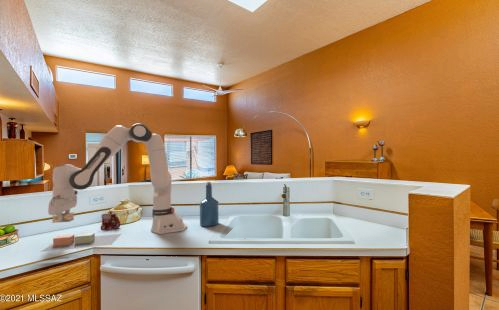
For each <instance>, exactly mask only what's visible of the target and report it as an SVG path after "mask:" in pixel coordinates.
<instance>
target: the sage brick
mask: <svg viewBox="0 0 499 310" xmlns="http://www.w3.org/2000/svg"><path fill="white" fill-rule="evenodd" d="M95 236H96V235H95V232H87V233H77V235H74V238H75V244H80V243H91V242H93V241H94V240H95Z"/></svg>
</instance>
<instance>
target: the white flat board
mask: <svg viewBox="0 0 499 310" xmlns="http://www.w3.org/2000/svg"><path fill="white" fill-rule="evenodd" d="M120 236H122V233H114V234H105V235H104V234H103V235H95V240H94V241H93V242H91V243H80V244H75V237H74V242H73V243H72V244H70V245H59V246H53V243H52V244H51V245H49V246H47V247H46V248H44V249H42V250H40V252H50V251H61V250H72V249H81V248H82V249H83V248H89V247H91V248H92V247H102V246H103V247H104V246H110V245H112V244H114V243H115V242H116V240H117V239H118V238H119V237H120Z"/></svg>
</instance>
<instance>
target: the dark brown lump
mask: <svg viewBox="0 0 499 310" xmlns="http://www.w3.org/2000/svg"><path fill="white" fill-rule="evenodd" d="M120 227H121V220H120V219H119V217H118V216H117V214H116V213H114V214H112V213H103V214H101V225H100V230H101V231H106V230H115V229H116V230H117V229H119V228H120Z"/></svg>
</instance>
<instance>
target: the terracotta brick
mask: <svg viewBox="0 0 499 310" xmlns="http://www.w3.org/2000/svg"><path fill="white" fill-rule="evenodd" d="M74 238H75V234H66V235H65V234H64V235H56V236H55V237H53V239H52V240H53V241H52V242H53V243H52V244H53V246H59V245H70V244H72V243H73V242H74Z"/></svg>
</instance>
